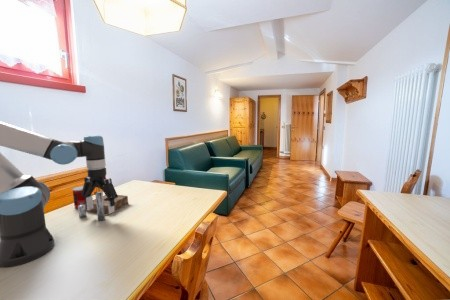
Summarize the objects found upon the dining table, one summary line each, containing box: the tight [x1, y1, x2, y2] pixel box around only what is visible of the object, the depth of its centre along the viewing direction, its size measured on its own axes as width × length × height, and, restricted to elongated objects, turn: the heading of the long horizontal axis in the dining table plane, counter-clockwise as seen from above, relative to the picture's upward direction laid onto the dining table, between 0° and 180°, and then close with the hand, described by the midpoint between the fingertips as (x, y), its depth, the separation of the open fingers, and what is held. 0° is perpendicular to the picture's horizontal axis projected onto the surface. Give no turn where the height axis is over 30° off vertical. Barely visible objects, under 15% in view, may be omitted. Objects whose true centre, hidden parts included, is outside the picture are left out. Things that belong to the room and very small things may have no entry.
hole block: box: [86, 194, 129, 216], centre depth 110 cm, size 14×14×5 cm
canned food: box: [72, 185, 87, 210], centre depth 112 cm, size 8×8×11 cm
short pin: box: [77, 204, 87, 219], centre depth 99 cm, size 3×3×6 cm
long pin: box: [94, 190, 106, 222], centre depth 96 cm, size 3×3×14 cm
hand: (100, 210), depth 96 cm, fingers open, 12 cm apart
